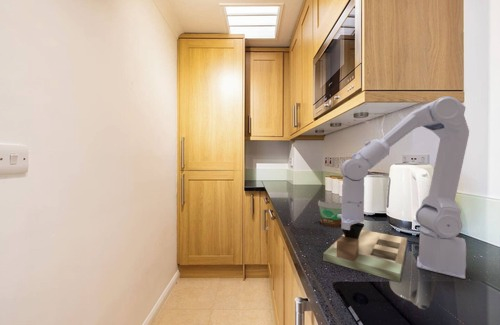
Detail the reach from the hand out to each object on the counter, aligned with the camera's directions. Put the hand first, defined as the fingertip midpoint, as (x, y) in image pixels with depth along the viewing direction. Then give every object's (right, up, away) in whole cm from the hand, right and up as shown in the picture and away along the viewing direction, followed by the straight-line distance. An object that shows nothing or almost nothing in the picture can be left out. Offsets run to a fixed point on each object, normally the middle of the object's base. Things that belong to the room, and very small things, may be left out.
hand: (351, 248), depth 66 cm
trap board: (+8, -3, +5) cm, 10 cm away
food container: (+5, -2, +32) cm, 33 cm away
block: (-2, -1, -3) cm, 4 cm away
